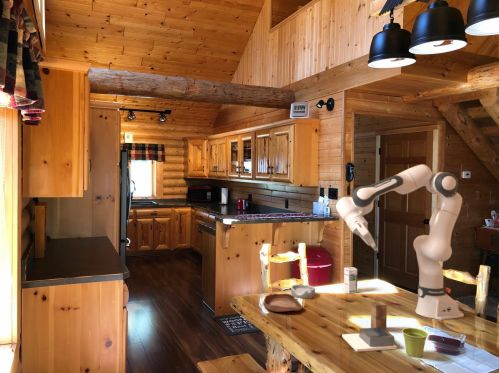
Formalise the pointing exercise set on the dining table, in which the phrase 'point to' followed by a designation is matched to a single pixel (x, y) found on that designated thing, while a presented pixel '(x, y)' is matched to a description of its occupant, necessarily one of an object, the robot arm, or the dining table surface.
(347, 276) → the syrup box
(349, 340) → the base plate
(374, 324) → the walnut post
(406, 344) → the plant pot
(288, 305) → the basket
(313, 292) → the dish
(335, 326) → the dining table surface
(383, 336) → the steel collar
